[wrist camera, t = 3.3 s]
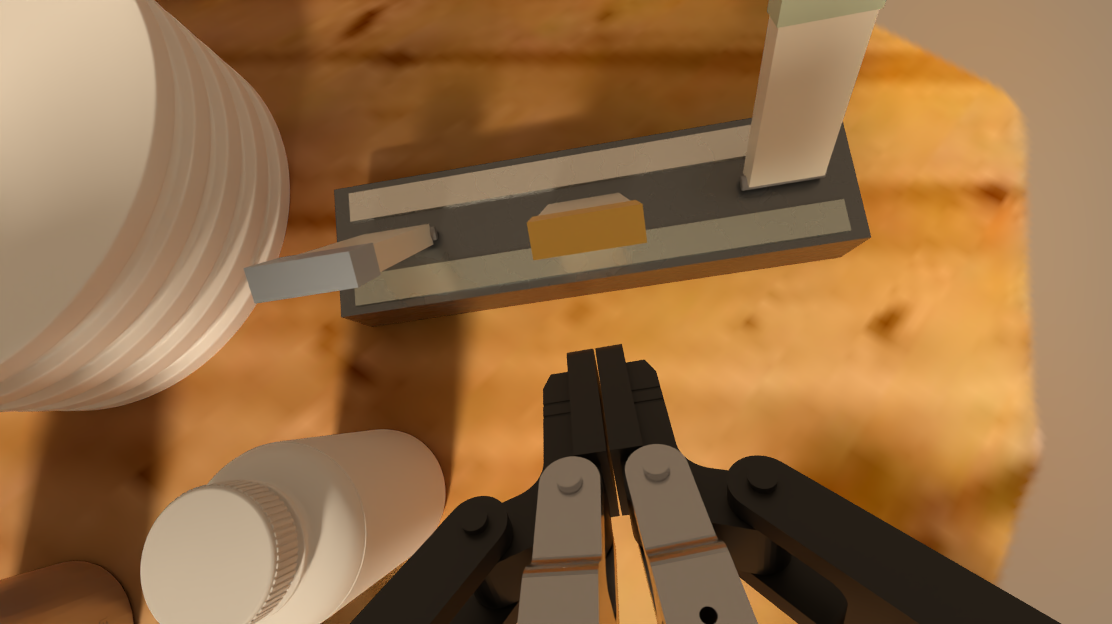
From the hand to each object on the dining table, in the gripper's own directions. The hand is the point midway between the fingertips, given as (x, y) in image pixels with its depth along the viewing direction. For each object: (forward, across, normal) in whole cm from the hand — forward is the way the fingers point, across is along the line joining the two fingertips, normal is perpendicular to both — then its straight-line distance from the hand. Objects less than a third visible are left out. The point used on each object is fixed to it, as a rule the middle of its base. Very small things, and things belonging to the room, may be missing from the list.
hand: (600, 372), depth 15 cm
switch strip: (+21, 0, -6) cm, 21 cm away
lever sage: (+17, +11, -3) cm, 21 cm away
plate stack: (+26, -34, 0) cm, 43 cm away
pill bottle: (+11, -15, -16) cm, 24 cm away
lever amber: (+17, 0, -3) cm, 18 cm away
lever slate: (+18, -11, -2) cm, 21 cm away
